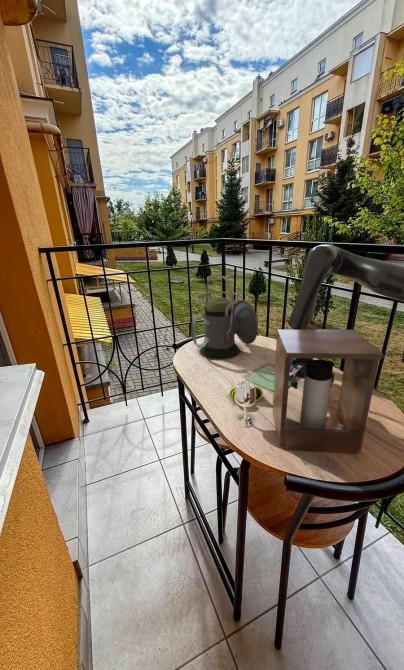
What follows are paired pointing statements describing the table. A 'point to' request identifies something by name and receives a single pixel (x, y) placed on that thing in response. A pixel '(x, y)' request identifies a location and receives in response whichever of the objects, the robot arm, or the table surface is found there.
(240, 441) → the table surface
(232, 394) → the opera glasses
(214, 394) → the table surface
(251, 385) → the wineglass
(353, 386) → the cabinet
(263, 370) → the green square mat
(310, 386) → the travel mug
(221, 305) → the lantern
